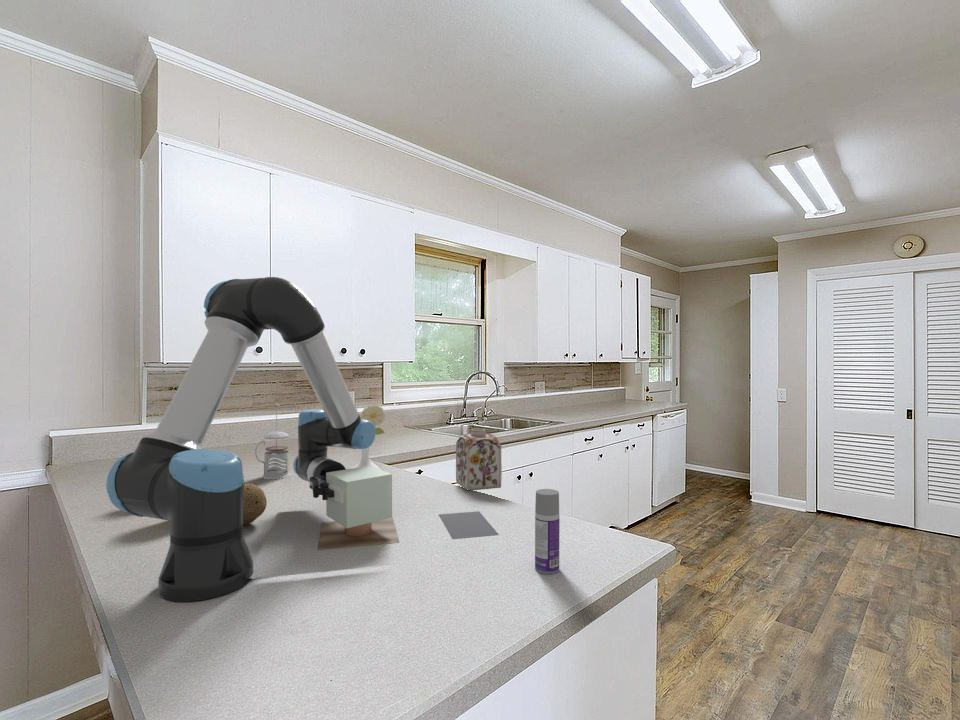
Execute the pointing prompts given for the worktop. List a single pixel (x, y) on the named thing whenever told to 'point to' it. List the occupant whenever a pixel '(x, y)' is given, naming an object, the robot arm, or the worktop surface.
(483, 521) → the mat
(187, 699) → the worktop surface
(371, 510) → the pale mint green cube
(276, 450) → the french press
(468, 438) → the decorative jar
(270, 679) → the worktop surface
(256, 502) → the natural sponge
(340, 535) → the board
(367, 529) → the bowl
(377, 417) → the flower in vase
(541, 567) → the container
